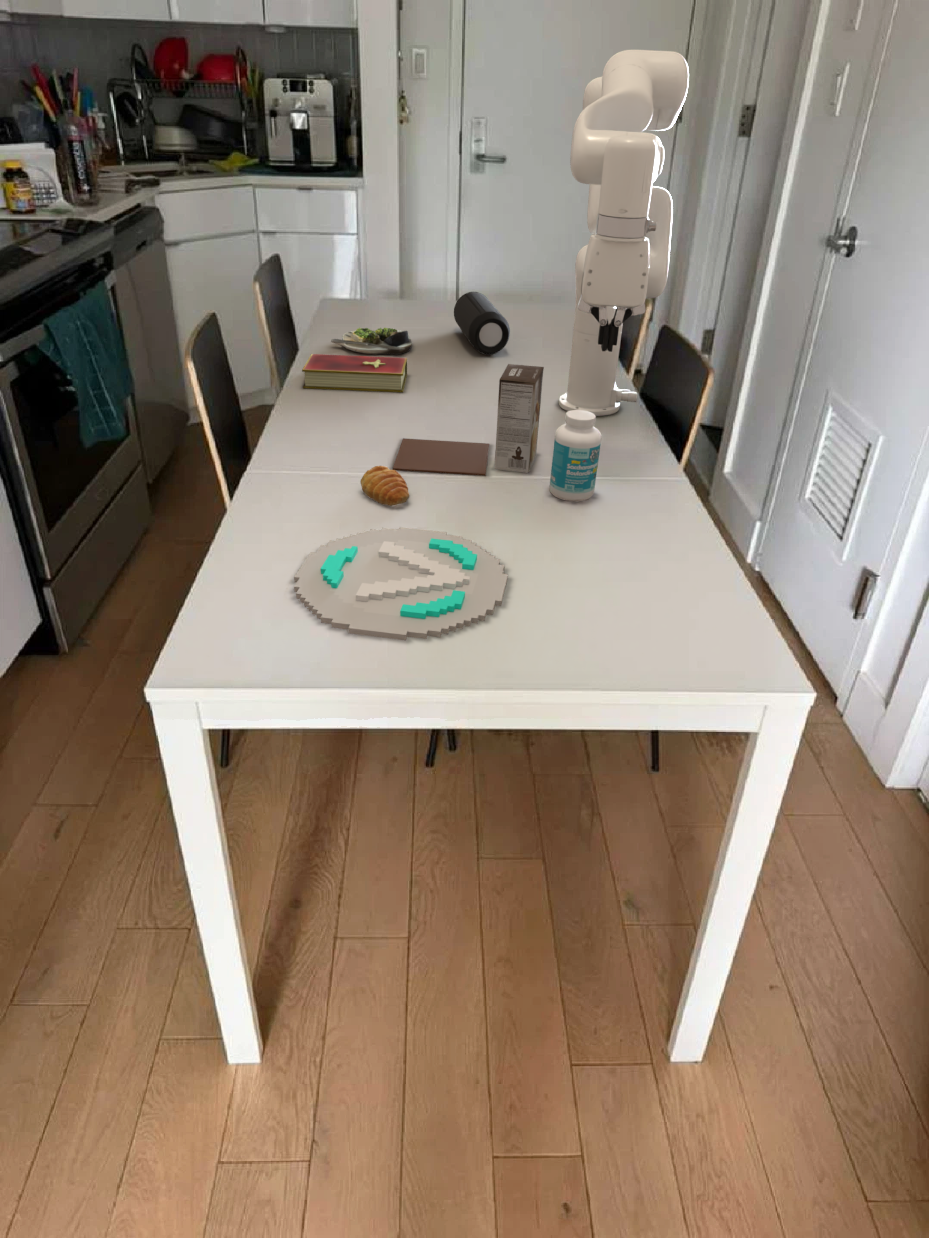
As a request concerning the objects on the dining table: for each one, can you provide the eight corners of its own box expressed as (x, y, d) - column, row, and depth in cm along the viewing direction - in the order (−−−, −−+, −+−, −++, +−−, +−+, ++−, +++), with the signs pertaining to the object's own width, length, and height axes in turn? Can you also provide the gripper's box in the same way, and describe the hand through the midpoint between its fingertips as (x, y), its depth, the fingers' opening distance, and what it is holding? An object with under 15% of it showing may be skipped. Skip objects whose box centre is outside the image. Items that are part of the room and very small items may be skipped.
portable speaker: (511, 357, 210) (513, 314, 205) (470, 358, 208) (471, 314, 203) (488, 329, 231) (490, 289, 226) (451, 329, 229) (452, 289, 224)
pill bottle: (564, 506, 142) (573, 425, 134) (540, 488, 147) (547, 410, 140) (603, 498, 145) (613, 419, 137) (577, 481, 150) (586, 404, 143)
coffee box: (502, 450, 161) (507, 362, 152) (536, 454, 160) (544, 366, 151) (493, 469, 153) (498, 378, 144) (529, 474, 152) (537, 382, 143)
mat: (489, 445, 162) (489, 443, 162) (485, 476, 151) (485, 473, 150) (402, 440, 163) (402, 438, 163) (392, 470, 151) (392, 468, 151)
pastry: (420, 503, 140) (420, 481, 138) (382, 512, 137) (381, 490, 135) (392, 482, 147) (392, 460, 145) (356, 490, 144) (355, 468, 142)
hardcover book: (312, 371, 196) (311, 352, 194) (407, 375, 196) (407, 356, 194) (303, 388, 186) (301, 368, 183) (402, 392, 186) (402, 372, 184)
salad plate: (332, 358, 205) (331, 337, 202) (329, 336, 219) (329, 317, 217) (415, 357, 208) (415, 337, 205) (407, 336, 222) (407, 317, 220)
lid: (489, 650, 107) (490, 639, 106) (267, 623, 110) (266, 612, 109) (516, 544, 130) (516, 534, 129) (332, 524, 133) (331, 515, 132)
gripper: (667, 227, 138) (649, 346, 147) (571, 222, 138) (560, 341, 148) (673, 234, 131) (654, 358, 141) (573, 229, 132) (561, 353, 141)
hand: (606, 349), depth 144 cm, fingers closed
